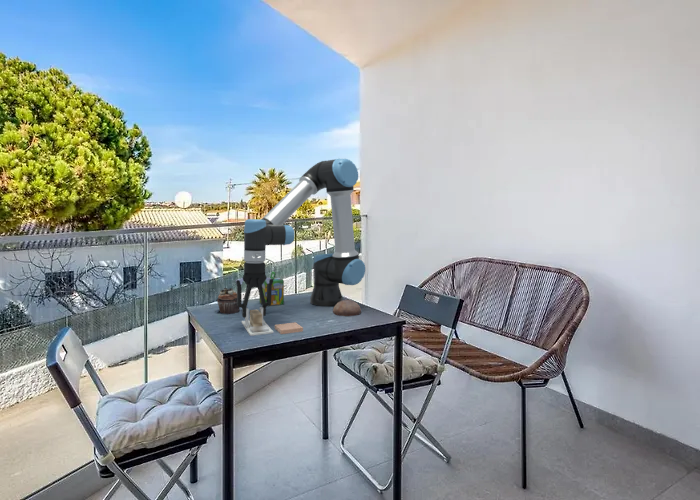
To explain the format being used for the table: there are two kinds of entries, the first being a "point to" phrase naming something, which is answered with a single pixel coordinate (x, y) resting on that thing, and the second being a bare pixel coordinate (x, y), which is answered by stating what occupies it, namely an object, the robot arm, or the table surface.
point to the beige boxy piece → (257, 322)
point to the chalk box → (275, 290)
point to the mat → (258, 332)
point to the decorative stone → (347, 308)
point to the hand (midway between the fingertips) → (254, 325)
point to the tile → (288, 328)
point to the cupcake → (228, 301)
